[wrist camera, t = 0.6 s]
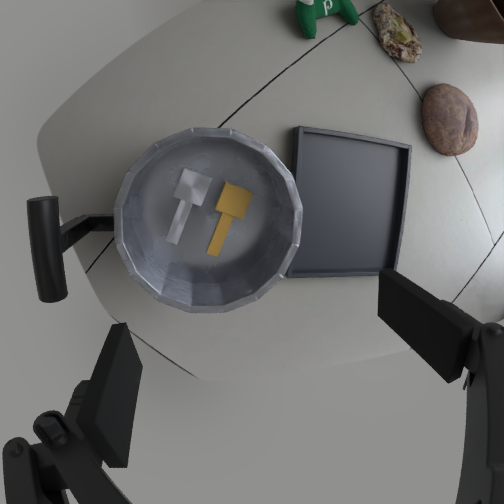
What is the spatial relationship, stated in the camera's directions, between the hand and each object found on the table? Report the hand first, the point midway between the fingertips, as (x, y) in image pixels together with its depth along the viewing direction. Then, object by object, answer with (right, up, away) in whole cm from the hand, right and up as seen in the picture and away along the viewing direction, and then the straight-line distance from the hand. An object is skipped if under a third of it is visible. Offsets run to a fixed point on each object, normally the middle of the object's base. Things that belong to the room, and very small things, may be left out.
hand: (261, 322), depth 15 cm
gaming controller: (+9, +36, +18) cm, 41 cm away
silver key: (-6, +7, +12) cm, 16 cm away
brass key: (-3, +6, +13) cm, 15 cm away
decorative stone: (+31, +25, +25) cm, 47 cm away
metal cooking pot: (-6, +7, +13) cm, 16 cm away
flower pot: (+34, +44, +20) cm, 59 cm away
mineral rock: (+21, +36, +20) cm, 46 cm away
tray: (+13, +10, +26) cm, 31 cm away
